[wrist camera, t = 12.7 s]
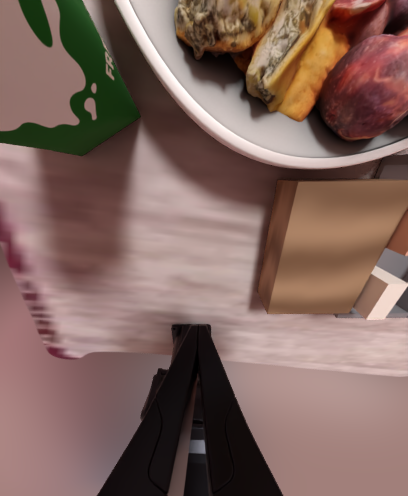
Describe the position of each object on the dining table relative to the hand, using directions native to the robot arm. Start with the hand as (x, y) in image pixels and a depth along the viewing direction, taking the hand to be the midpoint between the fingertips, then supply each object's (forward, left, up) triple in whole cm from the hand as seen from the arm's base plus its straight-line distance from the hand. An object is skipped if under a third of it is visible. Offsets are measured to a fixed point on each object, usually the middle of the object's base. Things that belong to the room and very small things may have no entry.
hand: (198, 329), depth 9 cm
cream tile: (-5, -18, -9) cm, 21 cm away
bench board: (-1, -13, -12) cm, 18 cm away
